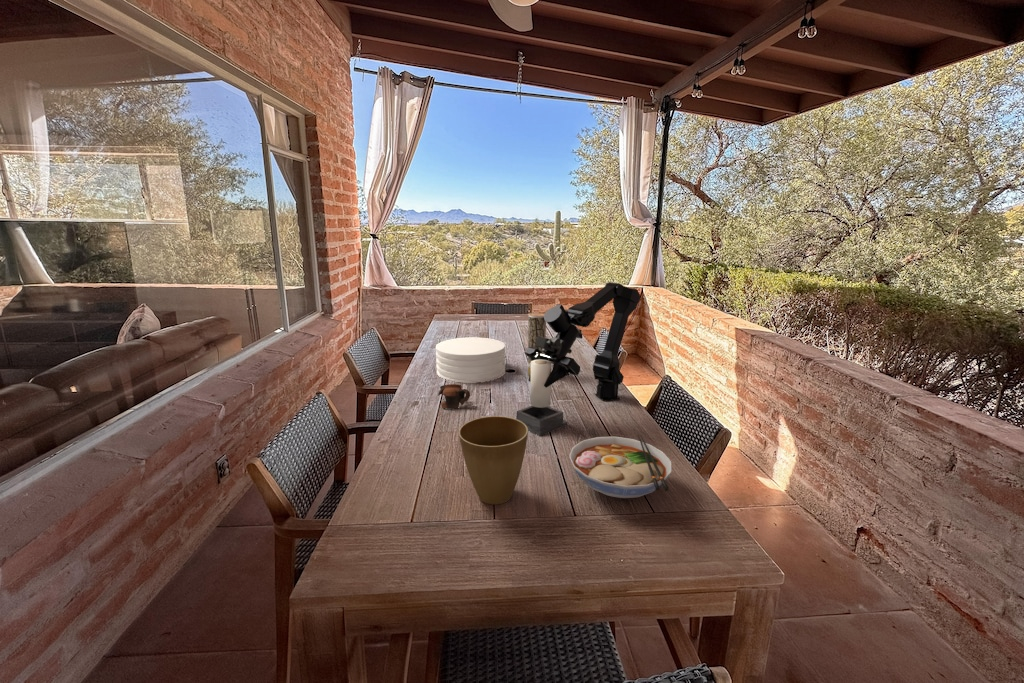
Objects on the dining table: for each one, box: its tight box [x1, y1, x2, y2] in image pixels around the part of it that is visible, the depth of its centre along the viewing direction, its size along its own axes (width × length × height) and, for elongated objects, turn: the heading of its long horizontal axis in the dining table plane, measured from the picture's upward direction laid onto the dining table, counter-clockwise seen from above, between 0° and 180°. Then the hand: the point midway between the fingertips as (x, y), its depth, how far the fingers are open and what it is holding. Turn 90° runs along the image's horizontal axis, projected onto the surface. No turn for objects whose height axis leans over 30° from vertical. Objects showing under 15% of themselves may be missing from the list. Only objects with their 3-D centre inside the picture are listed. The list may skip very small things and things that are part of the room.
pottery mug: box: [437, 383, 471, 410], centre depth 154 cm, size 12×10×8 cm
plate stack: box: [435, 336, 506, 384], centre depth 187 cm, size 28×28×12 cm
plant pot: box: [458, 415, 529, 505], centre depth 100 cm, size 15×15×16 cm
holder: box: [516, 405, 569, 437], centre depth 138 cm, size 12×12×4 cm
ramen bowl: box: [568, 434, 673, 499], centre depth 104 cm, size 25×23×8 cm
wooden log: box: [527, 312, 547, 377], centre depth 180 cm, size 7×7×25 cm
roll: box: [529, 359, 552, 408], centre depth 136 cm, size 6×6×13 cm
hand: (537, 384), depth 135 cm, fingers closed on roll, 6 cm apart
